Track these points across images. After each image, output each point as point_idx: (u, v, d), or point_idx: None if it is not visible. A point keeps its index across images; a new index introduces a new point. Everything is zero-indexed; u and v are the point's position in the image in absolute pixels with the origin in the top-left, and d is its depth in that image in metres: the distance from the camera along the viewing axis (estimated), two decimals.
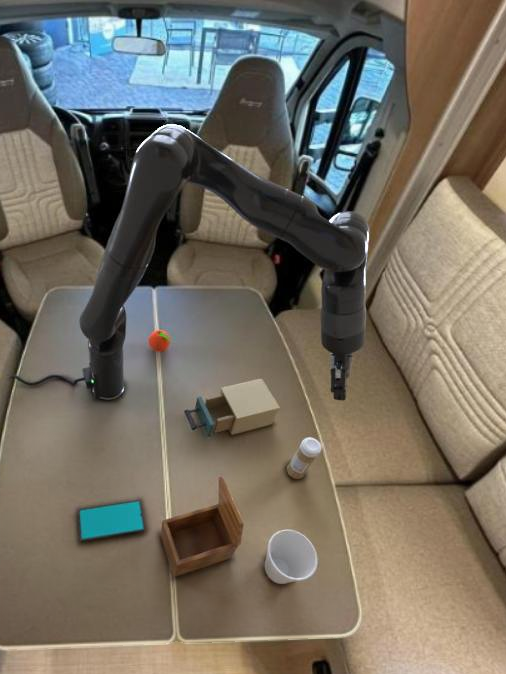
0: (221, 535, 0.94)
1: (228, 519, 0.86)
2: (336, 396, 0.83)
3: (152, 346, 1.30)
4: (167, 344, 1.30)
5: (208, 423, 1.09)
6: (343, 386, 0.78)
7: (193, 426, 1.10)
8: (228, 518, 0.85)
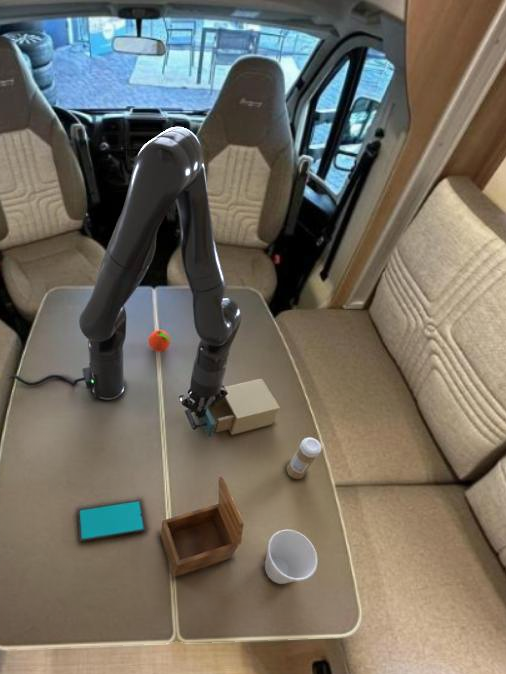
0: (221, 535, 0.94)
1: (228, 519, 0.86)
2: (194, 410, 1.09)
3: (152, 346, 1.30)
4: (167, 344, 1.30)
5: (209, 423, 1.09)
6: None
7: (194, 426, 1.10)
8: (228, 518, 0.85)
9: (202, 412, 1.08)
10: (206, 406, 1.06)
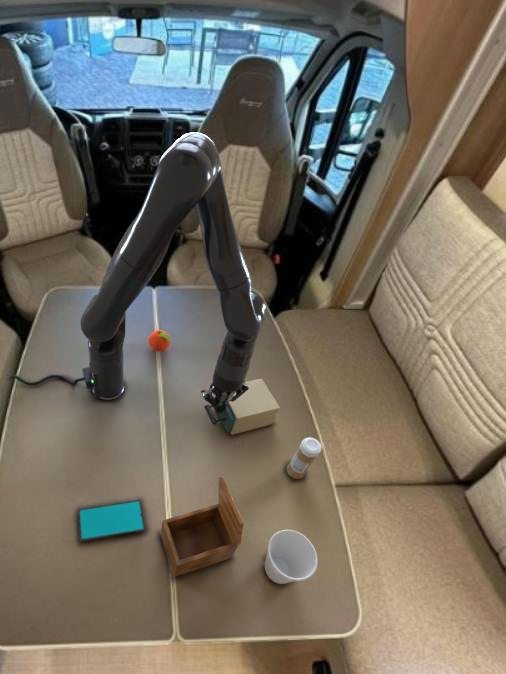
0: (221, 535, 0.94)
1: (228, 519, 0.86)
2: (214, 405, 1.11)
3: (152, 346, 1.30)
4: (167, 344, 1.30)
5: (229, 418, 1.10)
6: None
7: (214, 421, 1.11)
8: (228, 518, 0.85)
9: (222, 407, 1.09)
10: (227, 401, 1.08)
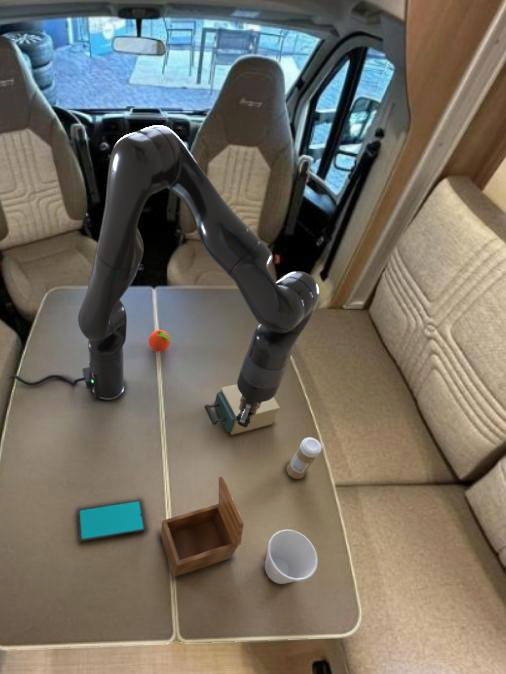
0: (221, 535, 0.94)
1: (228, 519, 0.86)
2: (240, 422, 0.87)
3: (152, 346, 1.30)
4: (167, 344, 1.30)
5: (229, 418, 1.10)
6: None
7: (214, 421, 1.11)
8: (228, 518, 0.85)
9: None
10: None
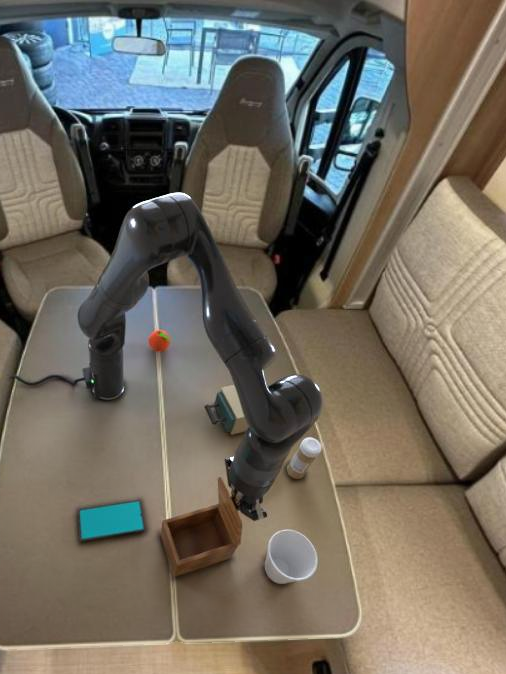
0: (221, 535, 0.94)
1: (228, 519, 0.86)
2: (238, 509, 0.80)
3: (152, 346, 1.30)
4: (167, 344, 1.30)
5: (229, 418, 1.10)
6: None
7: (214, 421, 1.11)
8: (228, 518, 0.85)
9: None
10: None
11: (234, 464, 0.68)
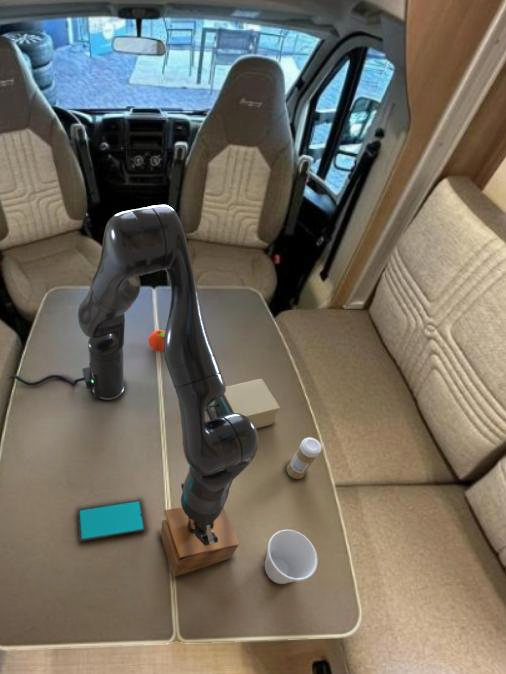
0: None
1: None
2: (194, 532, 0.82)
3: (152, 346, 1.30)
4: None
5: None
6: None
7: None
8: None
9: None
10: None
11: (183, 492, 0.70)
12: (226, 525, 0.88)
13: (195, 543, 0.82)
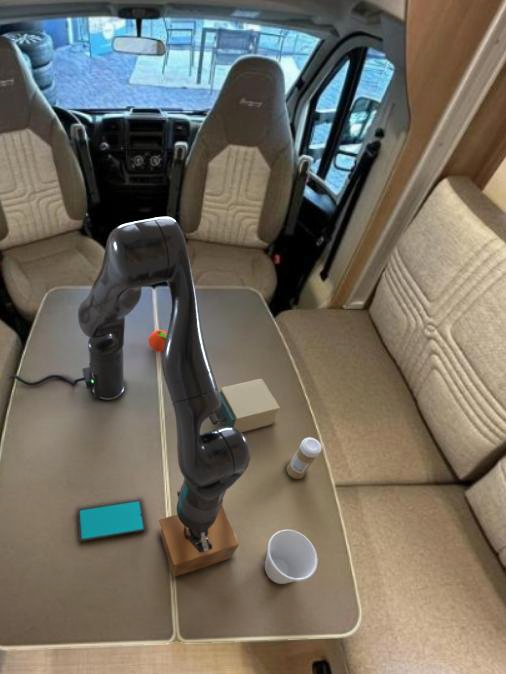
0: None
1: None
2: (190, 538, 0.84)
3: (152, 346, 1.30)
4: None
5: (229, 418, 1.10)
6: None
7: (214, 421, 1.11)
8: None
9: None
10: None
11: (179, 501, 0.73)
12: (225, 526, 0.88)
13: (190, 549, 0.85)
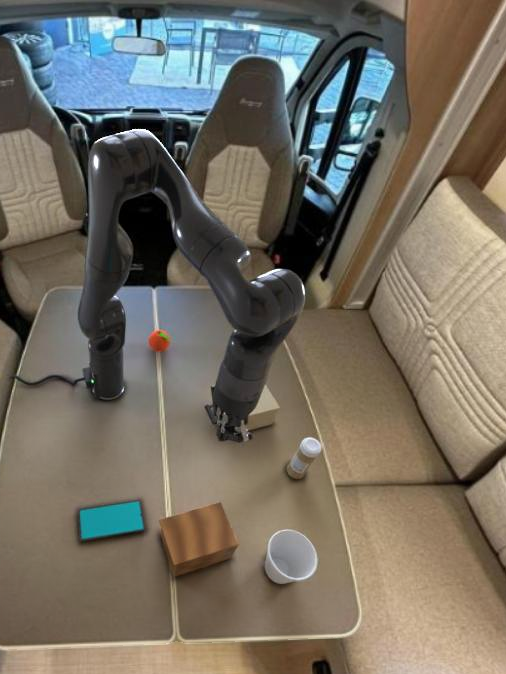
0: None
1: None
2: (224, 439, 0.78)
3: (152, 346, 1.30)
4: (167, 344, 1.30)
5: None
6: None
7: (214, 421, 1.11)
8: None
9: None
10: None
11: (218, 380, 0.66)
12: (225, 526, 0.88)
13: (190, 549, 0.85)
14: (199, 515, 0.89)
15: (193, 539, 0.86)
